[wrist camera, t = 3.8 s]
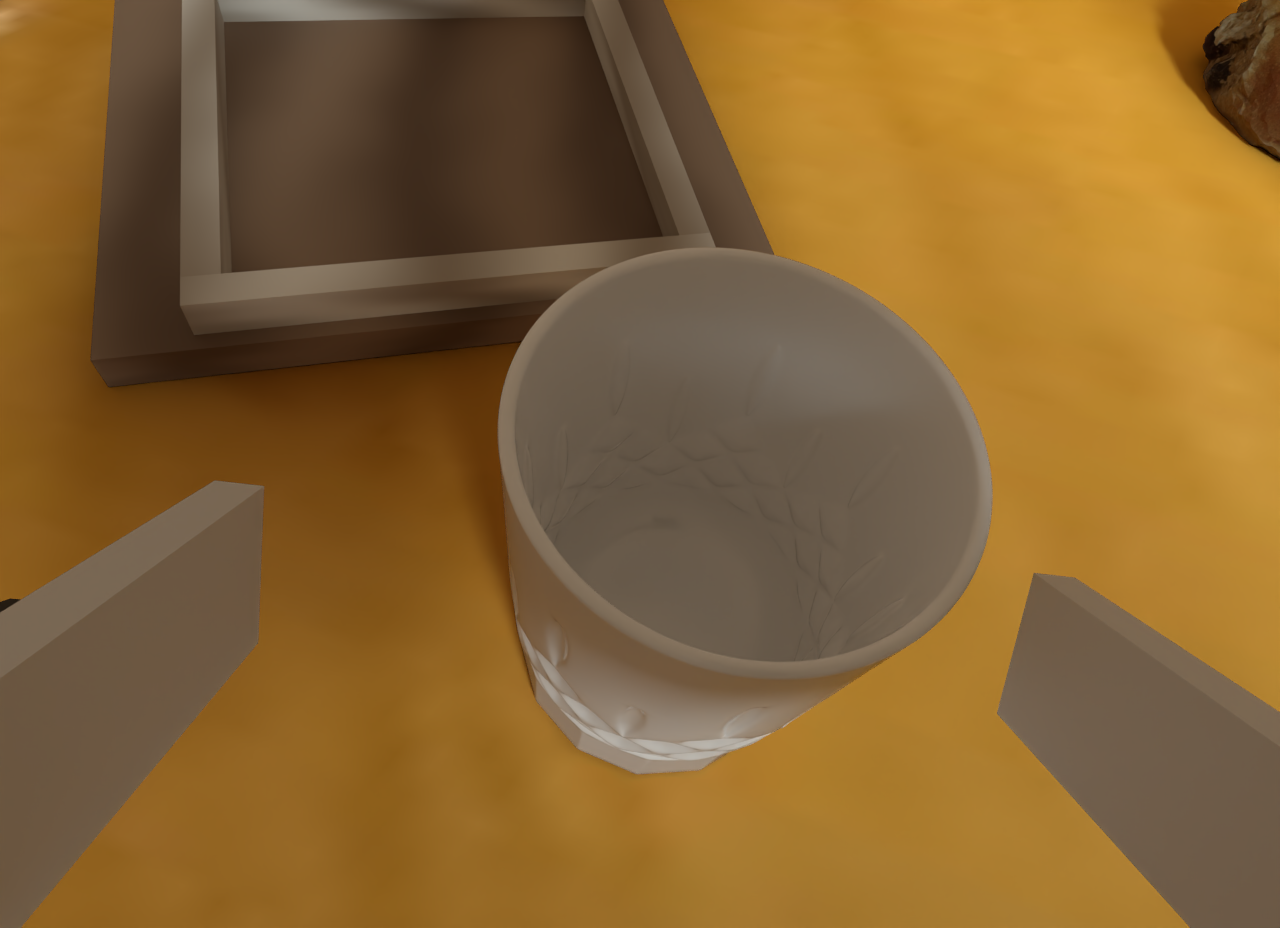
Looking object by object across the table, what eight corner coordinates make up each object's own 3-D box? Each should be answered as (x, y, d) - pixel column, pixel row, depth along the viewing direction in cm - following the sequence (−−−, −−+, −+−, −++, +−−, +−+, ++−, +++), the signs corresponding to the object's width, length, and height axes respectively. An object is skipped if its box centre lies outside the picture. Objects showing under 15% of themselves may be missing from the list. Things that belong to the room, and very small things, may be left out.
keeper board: (655, 20, 36) (664, -37, 34) (778, 312, 28) (800, 261, 26) (127, 30, 31) (101, -37, 29) (108, 387, 23) (70, 331, 21)
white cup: (433, 624, 21) (389, 393, 13) (656, 455, 25) (739, 185, 16) (650, 880, 19) (772, 808, 10) (862, 654, 22) (1083, 462, 14)
